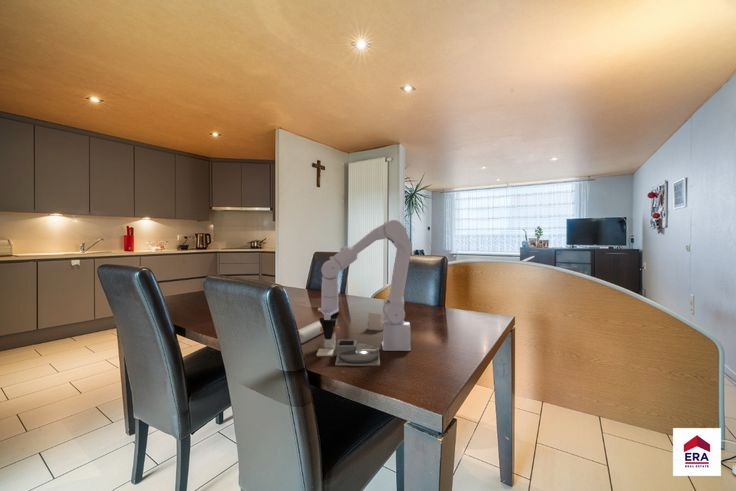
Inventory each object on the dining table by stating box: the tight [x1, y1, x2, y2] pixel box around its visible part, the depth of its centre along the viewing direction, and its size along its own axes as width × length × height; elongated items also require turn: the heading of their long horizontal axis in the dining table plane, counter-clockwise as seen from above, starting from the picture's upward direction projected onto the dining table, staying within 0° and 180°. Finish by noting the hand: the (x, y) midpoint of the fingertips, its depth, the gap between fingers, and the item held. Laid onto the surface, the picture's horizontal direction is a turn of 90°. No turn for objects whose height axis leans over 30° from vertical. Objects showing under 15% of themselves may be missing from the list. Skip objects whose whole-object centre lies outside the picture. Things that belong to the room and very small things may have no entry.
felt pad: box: [316, 348, 335, 357], centre depth 104 cm, size 5×5×1 cm
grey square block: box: [367, 312, 384, 331], centre depth 131 cm, size 3×7×7 cm, turn 78°
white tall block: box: [320, 325, 341, 351], centre depth 108 cm, size 6×3×8 cm, turn 90°
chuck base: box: [335, 347, 381, 367], centre depth 101 cm, size 13×13×1 cm
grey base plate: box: [335, 339, 380, 363], centre depth 101 cm, size 13×13×4 cm
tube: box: [297, 319, 338, 345], centre depth 123 cm, size 5×5×25 cm
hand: (329, 335), depth 108 cm, fingers open, 7 cm apart
